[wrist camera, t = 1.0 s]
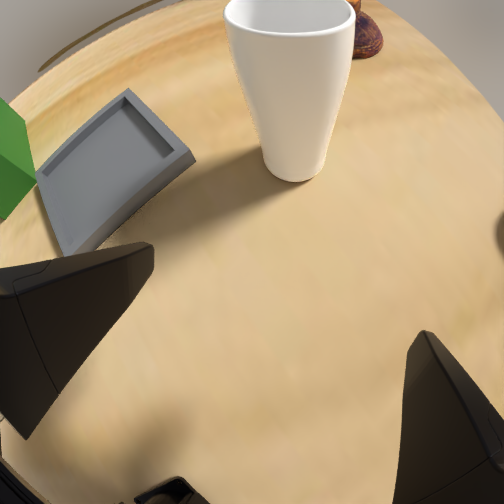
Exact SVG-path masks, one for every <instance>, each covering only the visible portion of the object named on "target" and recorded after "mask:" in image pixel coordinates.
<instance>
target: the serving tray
mask: <svg viewBox="0 0 504 504" xmlns="http://www.w3.org/2000/svg"><path fill="white" fill-rule="evenodd" d="M195 162H196V160H195V158H194V156H193V154H192V152H191V151H190V149H189V148H188V147H187V146H186V145H185V144H184V143H183V142H182V141H181V140H180V139H179V138H178V137H177V136H176V135H175V134H174V133H173V132H172V131H171V130H170V129H169V128H168V127H167V126H166V125H165V124H164V123H163V122H162V121H161V120H160V119H159V118H158V117H157V116H156V115H155V114H154V113H153V112H152V111H151V110H150V109H149V108H148V107H147V106H146V105H145V104H144V103H143V102H142V101H141V100H140V99H139V98H138V97H137V96H136V95H135V94H134V93H133V92H132V91H131V90H130V89H129V88H128V89H126V90H125V91H124V92H122V93H121V94H120V95H118V96H117V97H116V98H114V99H113V100H112V101H111V102H109V103H108V104H107V105H106V106H104V107H103V108H102V109H101V110H100V111H98V112H97V113H96V114H95V115H94V116H93V117H91V118H90V119H89V120H88V121H87V122H86V123H85V124H83V125H82V126H81V127H80V128H79V129H78V130H77V131H76V132H75V133H74V134H73V135H71V136H70V137H69V138H68V139H67V140H66V141H65V142H64V143H63V144H62V145H61V146H60V147H59V148H58V149H57V150H56V151H55V152H54V153H53V154H52V155H51V156H50V157H49V158H48V159H47V160H46V162H45V163H44V164H43V165H42V166H41V167H40V168H39V169H38V170H37V171H36V172H35V177H36V180H37V184H38V187H39V190H40V193H41V196H42V200H43V203H44V205H45V208H46V211H47V214H48V217H49V220H50V222H51V225H52V228H53V230H54V233H55V236H56V238H57V241H58V243H59V246H60V248H61V250H62V253H63V255H64V257H66V256H71V255H76V254H81V253H86V252H91V251H94V250H95V249H96V248H98V247H99V246H100V245H101V244H102V243H103V242H104V241H105V240H106V239H107V238H108V237H109V236H110V235H111V234H112V233H113V232H114V231H115V230H116V229H117V228H118V227H120V226H121V225H122V224H123V223H124V222H125V221H126V220H127V219H128V218H129V217H130V216H132V215H133V214H134V213H135V212H136V211H137V210H138V209H139V208H141V207H142V206H143V205H144V204H145V203H146V202H147V201H149V200H150V199H151V198H152V197H153V196H154V195H156V194H157V193H158V192H159V191H160V190H161V189H163V188H164V187H165V186H166V185H167V184H169V183H170V182H171V181H172V180H174V179H175V178H176V177H177V176H178V175H180V174H181V173H182V172H183V171H185V170H186V169H187V168H188V167H190V166H191V165H192V164H194V163H195Z"/></svg>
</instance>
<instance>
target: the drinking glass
mask: <svg viewBox="0 0 504 504" xmlns="http://www.w3.org/2000/svg"><path fill="white" fill-rule="evenodd" d="M223 19H224V24H225V30H226V36H227V41H228V46H229V50H230V54H231V58H232V62H233V66H234V69H235V73H236V76H237V79H238V82H239V85H240V88H241V90H242V93H243V96H244V99H245V101H246V104H247V107H248V110H249V113H250V116H251V118H252V121H253V124H254V127H255V130H256V133H257V136H258V139H259V142H260V145H261V149H262V154H263V159H264V162H265V165H266V167H267V168H268V170H269V171H270V172H271V173H272V174H273V175H275V176H276V177H278V178H280V179H282V180H285V181H290V182H301V181H305V180H308V179H310V178H312V177H314V176H315V175H317V174H318V173H319V172H320V170H321V169H322V167H323V165H324V163H325V159H326V153H327V149H328V145H329V142H330V138H331V135H332V132H333V128H334V125H335V122H336V119H337V115H338V112H339V109H340V105H341V102H342V99H343V95H344V92H345V88H346V85H347V81H348V77H349V73H350V68H351V62H352V56H353V48H354V38H355V20H356V14H355V11H354V9H353V7H352V6H351V5H350V4H349V3H348V2H347V1H346V0H231V1H230V2H229V3H228V4H227V5H226V7H225V9H224V11H223Z"/></svg>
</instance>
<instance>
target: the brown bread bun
mask: <svg viewBox="0 0 504 504" xmlns="http://www.w3.org/2000/svg"><path fill="white" fill-rule="evenodd" d="M346 1H347V2H348V3H349V4H350V5H351V6H352V7H353V9H354V11H355V14H356V20H355V38H354V48H353V56H352V58H357V57H362V58H368V57H371V56H373V55H375V54H377V53H378V52H379V51H380V50H381V48H382V46H383V37H382V34H381V32H380V30H379V28H378V26H377V25H376V23H375V22H374V21H373V20H372V19H371V18H370V17H369V16H368V15H367V14H365V13H363V12H362V11H360V8H361V0H346ZM368 30H369V31H368Z"/></svg>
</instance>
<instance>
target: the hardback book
mask: <svg viewBox="0 0 504 504" xmlns="http://www.w3.org/2000/svg"><path fill="white" fill-rule="evenodd" d="M36 183H37V180H36V177H35V168H34V164H33V160H32V155H31V151H30V146H29V141H28V136H27V131H26V125H25V120H24V119H23V118H22V117H20V116H19V115H18V114H17V113H16V112H15V111H14V110H13V109H12V108H11V107H10V106H9V105H8V104H7V103H6V102H5V101H4V100H3V99H2V98H0V217H1V218H3V219H4V220H6V219H7V217H8V216H9V215H10V214H11V212H12V211H13V210H14V209H15V207H16V206H17V205H18V204H19V203H20V201H21V200H22V199H23V198H24V197H25V195H26V194H27V193H28V192H29V191H30V190H31V189H32V187H33V186H34V185H35V184H36Z"/></svg>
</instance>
